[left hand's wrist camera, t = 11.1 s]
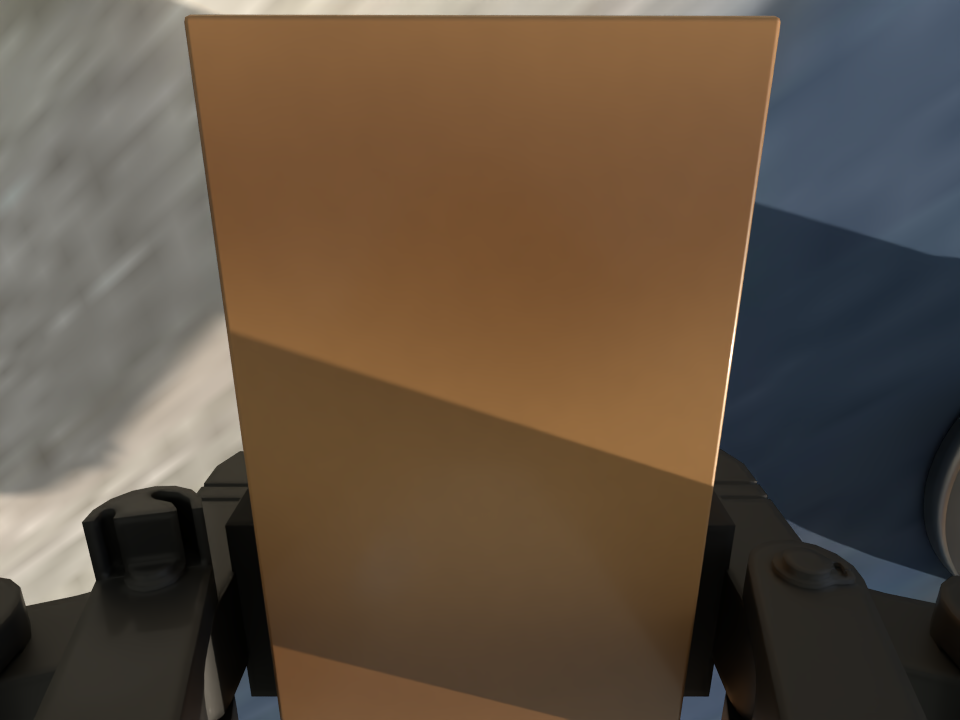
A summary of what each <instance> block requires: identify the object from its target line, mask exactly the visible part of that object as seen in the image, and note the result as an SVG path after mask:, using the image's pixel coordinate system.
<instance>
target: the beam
mask: <svg viewBox="0 0 960 720" xmlns="http://www.w3.org/2000/svg"><path fill="white" fill-rule="evenodd" d="M184 23H185V30H186V37H187V45H188V52H189V59H190V66H191V74H192V81H193V88H194V95H195V103H196V110H197V117H198V124H199V132H200V139H201V146H202V153H203V161H204V168H205V175H206V182H207V190H208V197H209V204H210V211H211V219H212V226H213V233H214V240H215V247H216V255H217V262H218V269H219V277H220V284H221V291H222V298H223V305H224V313H225V320H226V327H227V334H228V342H229V349H230V356H231V363H232V371H233V378H234V385H235V392H236V400H237V407H238V414H239V421H240V429H241V436H242V443H243V450H244V458H245V465H246V472H247V479H248V487H249V494H250V501H251V508H252V516H253V523H254V530H255V537H256V545H257V552H258V559H259V566H260V574H261V581H262V588H263V595H264V603H265V610H266V617H267V624H268V632H269V639H270V646H271V653H272V661H273V668H274V675H275V682H276V690H277V697H278V704H279V711H280V719H281V720H680V716H681V709H682V702H683V695H684V688H685V681H686V674H687V667H688V660H689V654H690V647H691V640H692V633H693V626H694V619H695V612H696V605H697V598H698V591H699V584H700V577H701V570H702V563H703V556H704V549H705V543H706V536H707V529H708V522H709V515H710V508H711V501H712V494H713V487H714V480H715V473H716V466H717V459H718V452H719V445H720V439H721V432H722V425H723V418H724V411H725V404H726V397H727V390H728V383H729V376H730V369H731V362H732V355H733V348H734V341H735V334H736V328H737V321H738V314H739V307H740V300H741V293H742V286H743V279H744V272H745V265H746V258H747V251H748V244H749V237H750V230H751V224H752V217H753V210H754V203H755V196H756V189H757V182H758V175H759V168H760V161H761V154H762V147H763V140H764V133H765V126H766V119H767V113H768V106H769V99H770V92H771V85H772V78H773V71H774V64H775V57H776V50H777V43H778V36H779V29H780V19H779V18H778V17H776V16H565V15H188V16H186V17H185V21H184Z"/></svg>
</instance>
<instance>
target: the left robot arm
mask: <svg viewBox="0 0 960 720" xmlns="http://www.w3.org/2000/svg"><path fill="white" fill-rule="evenodd" d="M923 510H924V522H925V527H926V532H927V535H928V538H929V541H930V544H931V546H932V548H933V550H934V552H935V554H936V555H937V557H938V558H939V560H940V561H941V563H942V564H943V565H944V566H945V567H946V568H947V570H948V571H949V572H950V573H951V574H952V575H953V576H951V577H950V578H948V579H947V580H946V581H945V582H943V583H942V584H941V587H940V590H939V594H938V597H937V601H936V603H931V602H926V601H921V600H916V599H911V598H906V597H901V596H897V595H892V594H887V593H883V592H879V591H875V590H871V589H868V588H867V585H866V583H865V581H864V579H863V578H862V577H861V575H860V574H859V573H858V571H857V570H856V569H855V567H854V566H853V565H851V564H850V563H848V562H847V561H846V560H844V559H843V558H841V557H840V556H839V555H837V554H835V553H833V552H831V551H828V550H826V549H824V548H821V547H819V546H817V545H813V544H809V543H804V542H802V541H801V540H800V538H799V537H798V536H797V534H796V533H795V532H794V530H793V529H792V528H791V526H790V525H789V524H788V522H787V521H786V520H785V518H784V517H783V516H782V514H781V513H780V512H779V510H778V509H777V508H776V506H775V505H774V504H773V502H772V501H771V500H770V499H768V498H767V494H766V493H765V492H764V490H763V489H762V488H761V486H760V485H757V481H756V480H755V478H754V477H753V476H752V474H751V473H750V472H749V470H748V469H747V468H746V466H745V465H744V464H743V463H742V462H740V461H738V460H737V459H735V458H734V457H732V456H731V455H729V454H727V453H726V452H724V451H723V450H721V449H719V452H718V459H717V466H716V473H715V480H714V487H713V494H712V501H711V508H710V515H709V522H708V529H707V536H706V543H705V549H704V556H703V563H702V570H701V577H700V584H699V591H698V598H697V605H696V612H695V619H694V626H693V633H692V640H691V647H690V654H689V660H688V667H687V674H686V681H685V688H684V695H683V696H709V692H710V686H711V680H712V673H713V667H714V664H715V666H716V669H717V671H718V674H719V676H720V678H721V681H722V683H723V685H724V688H725V690H726V695H725V701H724V707H723V713H722V719H721V720H960V416H959V417H958V419H957V420H956V421H955V423H954V424H953V425H952V427H951V428H950V430H949V431H948V433H947V434H946V436H945V438H944V439H943V441H942V443H941V445H940V447H939V449H938V451H937V453H936V455H935V457H934V460H933V462H932V465H931V467H930V471H929V474H928V477H927V481H926V486H925V492H924V504H923ZM82 524H83V529H84V533H85V537H86V541H87V545H88V549H89V553H90V557H91V561H92V566H93V570H94V574H95V578H96V582H95V584H94V587H93V589H92V591H91V592H89V593H85V594H81V595H77V596H73V597H68V598H63V599H59V600H54V601H49V602H44V603H39V604H34V605H29V606H26V605H25V602H24V599H23V595H22V592H21V588H20V587H19V586H18V585H17V584H16V583H14V582H13V581H12V580H11V579H6V578H0V720H238V714H237V707H236V701H235V692H236V690H237V687H238V685H239V683H240V680H241V678H242V676H243V673H244V671H245V668H246V666H247V670H248V677H249V683H250V689H251V696H277V690H276V682H275V675H274V668H273V661H272V653H271V646H270V639H269V632H268V624H267V617H266V610H265V603H264V595H263V588H262V581H261V574H260V566H259V559H258V552H257V545H256V537H255V530H254V523H253V516H252V508H251V501H250V494H249V487H248V479H247V472H246V465H245V458H244V451H240V452H238V453H237V454H235V455H233V456H232V457H230V458H229V459H227V460H226V461H224V462H223V463H221V464H220V465H218V466H217V467H216V468H215V469H214V471H213V472H212V473H211V475H210V476H209V478H208V479H207V480H206V482H205V483H204V487H201V488H200V490H199V491H198V492H197V493H195V492H194V491H193V490H191V489H187V488H182V487H178V486H154V487H149V488H144V489H140V490H135V491H131V492H128V493H126V494H123V495H120V496H118V497H115V498H112V499H110V500H109V501H107V502H105V503H104V504H102V505H100V506H99V507H97V508H96V509H94V510H93V511H92V512H91V513H90V514H89V515H88V516H87V517H86V518H85V520H84V521H83V522H82Z"/></svg>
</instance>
